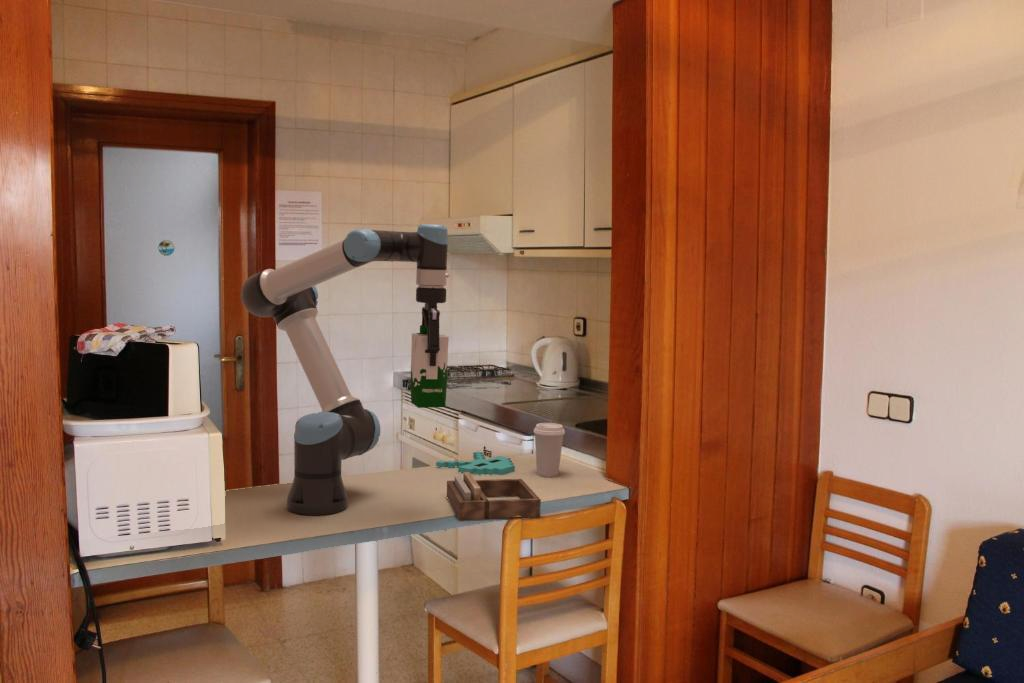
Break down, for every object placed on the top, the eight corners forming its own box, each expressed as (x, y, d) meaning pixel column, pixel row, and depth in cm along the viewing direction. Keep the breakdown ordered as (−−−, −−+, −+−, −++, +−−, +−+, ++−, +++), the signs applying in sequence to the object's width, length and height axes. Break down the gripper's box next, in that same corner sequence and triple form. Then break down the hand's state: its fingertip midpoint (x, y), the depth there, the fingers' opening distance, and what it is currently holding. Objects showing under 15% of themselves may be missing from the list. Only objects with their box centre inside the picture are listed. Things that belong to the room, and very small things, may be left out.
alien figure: (436, 468, 267) (487, 480, 255) (436, 461, 267) (487, 473, 255) (477, 458, 283) (527, 468, 271) (477, 451, 283) (527, 461, 271)
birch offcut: (473, 517, 219) (474, 488, 218) (462, 499, 234) (463, 472, 233) (479, 517, 219) (480, 488, 218) (468, 499, 235) (469, 472, 234)
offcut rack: (459, 520, 216) (459, 502, 215) (446, 497, 235) (447, 480, 235) (540, 517, 220) (540, 499, 220) (520, 494, 240) (521, 478, 240)
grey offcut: (464, 518, 218) (465, 492, 218) (453, 499, 234) (454, 476, 233) (470, 517, 219) (471, 492, 218) (459, 499, 234) (460, 475, 233)
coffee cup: (526, 471, 266) (528, 423, 264) (555, 469, 270) (556, 421, 268) (539, 479, 257) (541, 429, 256) (568, 477, 261) (570, 427, 259)
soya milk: (439, 401, 227) (441, 324, 225) (450, 407, 219) (452, 328, 217) (406, 402, 224) (408, 324, 222) (416, 409, 215) (418, 328, 213)
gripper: (453, 289, 208) (450, 382, 211) (439, 285, 230) (437, 370, 232) (421, 288, 207) (419, 382, 209) (411, 284, 228) (409, 369, 230)
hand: (428, 376), depth 220 cm, fingers closed on soya milk, 9 cm apart
